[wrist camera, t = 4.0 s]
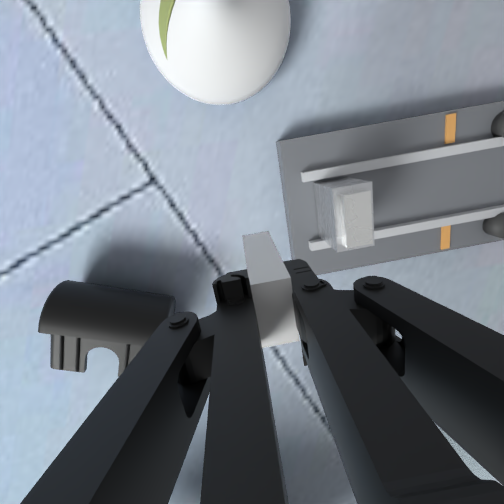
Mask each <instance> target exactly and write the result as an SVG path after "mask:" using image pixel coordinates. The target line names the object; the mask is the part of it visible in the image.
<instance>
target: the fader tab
mask: <svg viewBox="0 0 504 504" xmlns="http://www.w3.org/2000/svg"><path fill="white" fill-rule="evenodd" d="M313 184H314V194H315V203H316V213H317V223H318V233H319V237H320V238H321V239H323V240H324V241H325V242H326V243H327V244H328V245H329V246H331V247H332V248H333V249H334V250H335V251H336V252H343V251H348V250H353V249H359V248H364V247H369V246H375V244H374V217H373V190H372V181H367V180H361V179H355V178H349V177H344V178H339V179H333V180H328V181H322V182H317V183H313Z"/></svg>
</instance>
